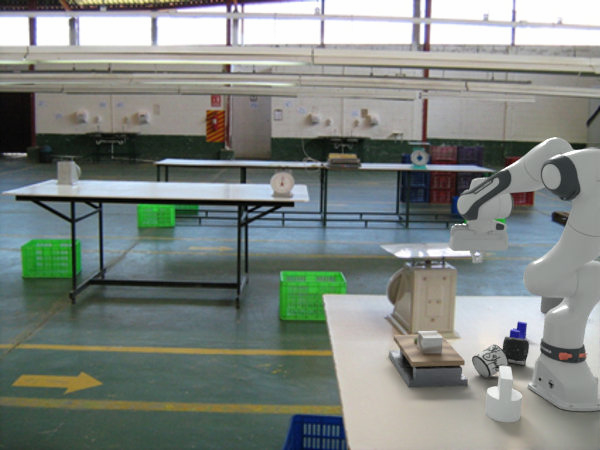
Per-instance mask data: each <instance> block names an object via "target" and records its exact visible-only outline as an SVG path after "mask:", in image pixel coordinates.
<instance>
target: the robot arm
mask: <svg viewBox="0 0 600 450" xmlns="http://www.w3.org/2000/svg"><path fill="white" fill-rule="evenodd" d="M544 188H546V189H547V190H548V191H549V192H550V193H551V194H552V195H554V196H556V197H558V198H559V199H560V200H561V201H564V202H570V201H571V203H572V205H571V209H570V212H569V215H568V218H567V221H566V224H565V226H564V229H563V231H562V234H561V235H560V238H559V240H558V241H557V243H556V244H555V245H554V246H553V247H551V249H550V250H549V251H547V252H546V253H545V254H544V255H542V256H541V257H540V258H537V259H535V260H534V261H531V262H529V263H528V264H527V266H526V267H525V269H524V271H523V276H522V280H523V284H524V286H525V289H526V290H527V291H528V292H529V293H530V294H531V295H534V296H539V297H541V298H542V297H548V298H564V299H563V301H562V302H561V303H560V304H559V305H558V306H556V307H554V308H552V309H551V310H549V311H548V312H547V314H545V316H544V322H543V334H542V338H541V340H540V343H539V344H540V345H539V346H540V347H539V350H540V353H539V356H538V357H537V359H535V363H534V368H533V372H532V373H533V374H532V379H531V381H530V382H528V384H527V388H528V389H529V390H531V391H532V392H534V393H535V394H537V395H538V396H540V397H542V398H543V399H545V400H546V401H547V402H549V403H551V404H552V405H554V406H556V407H557V408H559V409H561V410H565V411H572V412H596V411H600V394H599V386H598V385H599V377H598V376H595V375H594V374H593V372H592V370H591V368H590V366H589V365H588V363H587V361H586V360H587V358H588V356H587V355H588V353H587V351H586V347H585V344H584V341H585V334H586V327H587V322H588V320H589V317H590V315H591V313H592V311H593V309H594V308H595V307H596V305H598V303H599V302H600V261H598V260H596V259H597V258H599V257H600V146H599V147H597V146H595V147H589V146H588V147H584V148H582V149H574V148H573V147H572V145H571V144H570V143H569V142H568V141H567V140H566V139H563V138H561V137H550V138H548V139H546V140H544V141H542V142H541V143H539V144H537V145H535V146H534V147H533V148H532V149H530V150H529V151H528V152H527V153H526V154H524V155H523V156H521V158H520V159H518V160H516V161H515V162H513V163H512V164H509V165H508V166H506V167H505V168H503V169H501V170H499V171H497V172H495V173H494V174H492V175H491V176H489V177H477V178H473V179H472V180H471V183H470V186H469V189H465V190H464V191H463V192H462V193H461V194H460V195H459V197H458V199H457V202H456V210H457V212H458V214H459V215H460V216H461V217H462V218H463V219H464V220H466V223H461V224H460V223H455V224H453V225H452V226H451V227H450V229H449V230H450V232H449V235H450V237H449V244H448V246H449V249H451V251H454V252H468V251H469V254H470V256H471V258H472V261H471V262H472V264H482V263H483V259H484V258H485V257H486V254H487V252H489V251H491V252H496V251H497V252H498V251H499V252H500V251H501V252H506V251H507V249H508V248H509V233H508V232H507V229H508V225H507V223H503V222H501V221H499V220H502V219H508V218H509V217H510V215H512V213H513V211H514V208H515V199H514V197H513V195H512V193H513V194H514V193H529V192H536V191H538V190H542V189H544ZM477 251H478V252H479V253H480V255H481V256H480V255H479V256H478V257H476V255H475V254H477Z"/></svg>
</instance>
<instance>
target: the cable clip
mask: <svg viewBox="0 0 600 450" xmlns="http://www.w3.org/2000/svg"><path fill="white" fill-rule="evenodd" d="M516 323H517V324H516V328H511V329H510V330H509V336H508V337H511V338H512V337H514V338H516V339H518V338H519V339H525V340H526V338H527V328H528V322H524V321H520V320H519V321H517V322H516Z"/></svg>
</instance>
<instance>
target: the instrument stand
mask: <svg viewBox="0 0 600 450" xmlns="http://www.w3.org/2000/svg"><path fill="white" fill-rule="evenodd" d="M388 357H389V358H390V360H391V361H392V363H393V364H394V366H395V368H396V369H397V371H398V374H400V377H402V379H403V381H404V382H405V384H406V385H407V387H408V388H429V387H430V388H431V387H435V388H436V387H459V386H460V387H461V386H462V387H463V386H468V380H469V379H468V377H467V376H466V375H465V374H464V373H463V368H462V367H463V366H462V365H459V366H420V367H412V366H411V364H410V363H409V361H408V360H407V359H406V357H405V356H404V354H403V353H402V351H401V350H400V349H394V350H391V349H389V352H388Z"/></svg>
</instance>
